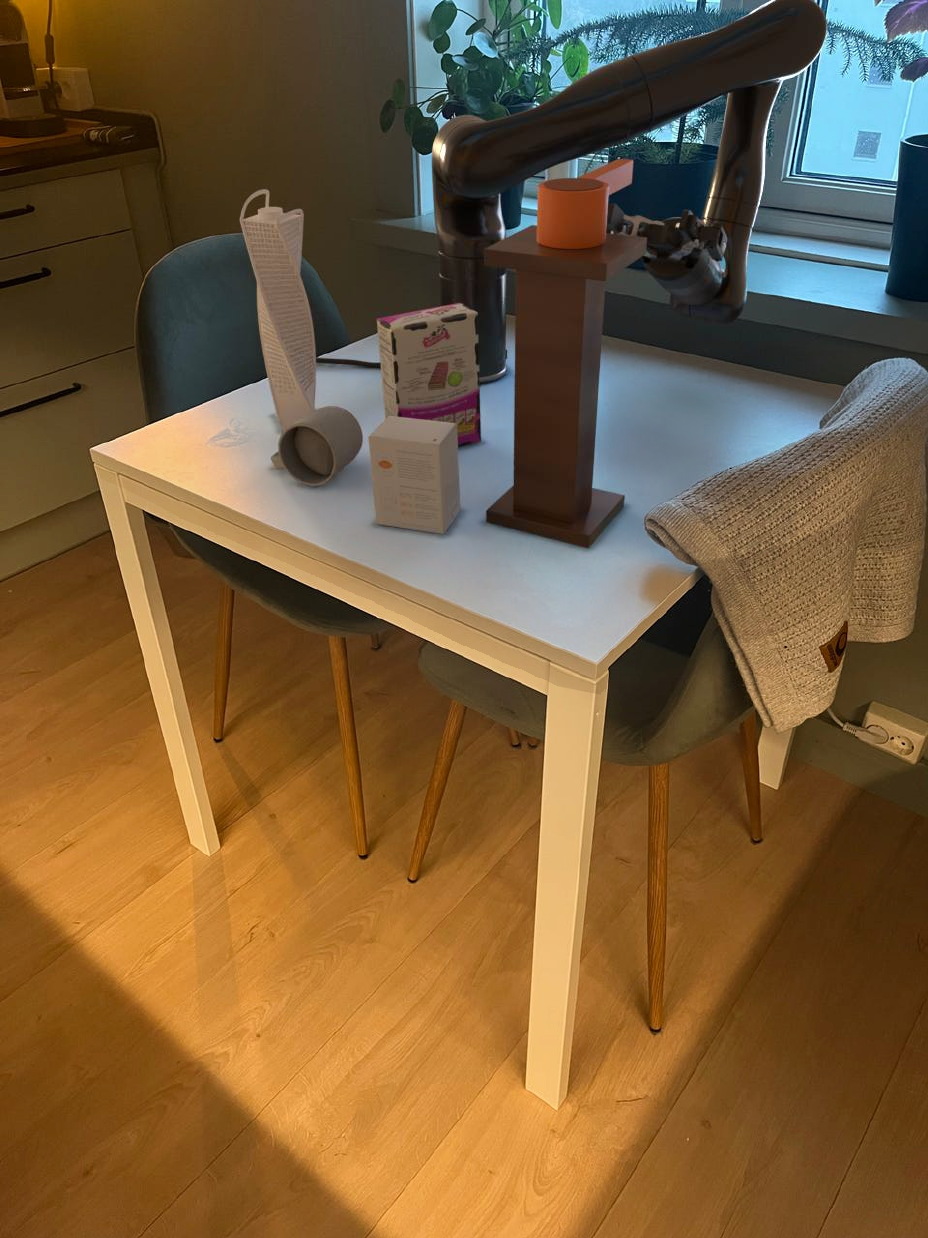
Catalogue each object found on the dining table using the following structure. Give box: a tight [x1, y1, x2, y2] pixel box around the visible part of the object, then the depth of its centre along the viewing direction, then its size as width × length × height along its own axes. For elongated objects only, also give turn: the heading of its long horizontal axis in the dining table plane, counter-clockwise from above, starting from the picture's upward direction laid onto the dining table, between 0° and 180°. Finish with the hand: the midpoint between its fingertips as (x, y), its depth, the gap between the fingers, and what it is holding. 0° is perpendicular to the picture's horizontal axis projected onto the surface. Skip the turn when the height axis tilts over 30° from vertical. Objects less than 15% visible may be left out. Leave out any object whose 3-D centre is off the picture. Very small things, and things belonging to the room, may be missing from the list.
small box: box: [367, 416, 462, 535], centre depth 102 cm, size 8×6×10 cm
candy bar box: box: [376, 303, 482, 448], centre depth 115 cm, size 11×5×16 cm, turn 117°
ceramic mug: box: [270, 405, 364, 487], centre depth 113 cm, size 11×8×8 cm
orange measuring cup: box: [536, 158, 634, 249], centre depth 91 cm, size 16×6×5 cm, turn 151°
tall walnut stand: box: [484, 224, 647, 549], centre depth 97 cm, size 10×12×28 cm
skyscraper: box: [239, 188, 317, 433], centre depth 119 cm, size 8×7×28 cm
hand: (646, 215), depth 105 cm, fingers open, 8 cm apart
